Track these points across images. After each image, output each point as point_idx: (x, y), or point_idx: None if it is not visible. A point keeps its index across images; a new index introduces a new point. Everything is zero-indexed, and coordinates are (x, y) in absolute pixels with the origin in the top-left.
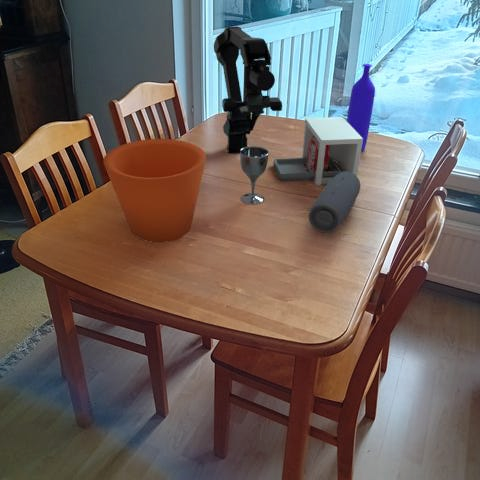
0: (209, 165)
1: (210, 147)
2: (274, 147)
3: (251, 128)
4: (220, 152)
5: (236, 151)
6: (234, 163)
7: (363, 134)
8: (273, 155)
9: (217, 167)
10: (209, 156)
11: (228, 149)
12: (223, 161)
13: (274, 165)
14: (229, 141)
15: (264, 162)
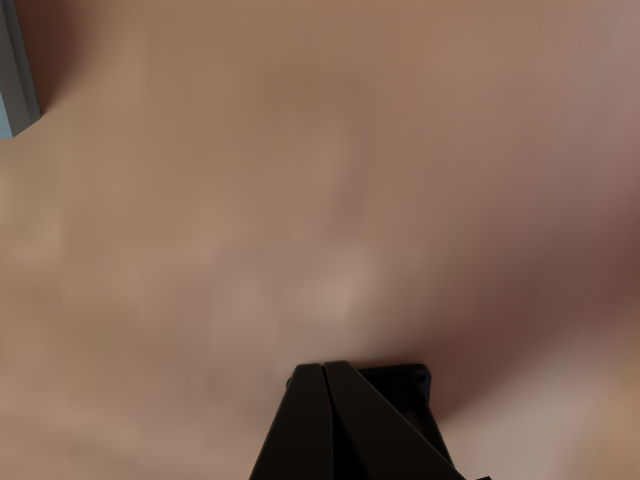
0: (635, 144)
1: (531, 445)
2: (46, 469)
3: (328, 389)
4: (483, 375)
5: (368, 377)
6: (418, 179)
7: None
8: (50, 334)
9: (583, 99)
10: (582, 310)
11: (427, 402)
12: (501, 220)
13: (19, 67)
14: (443, 453)
15: None
